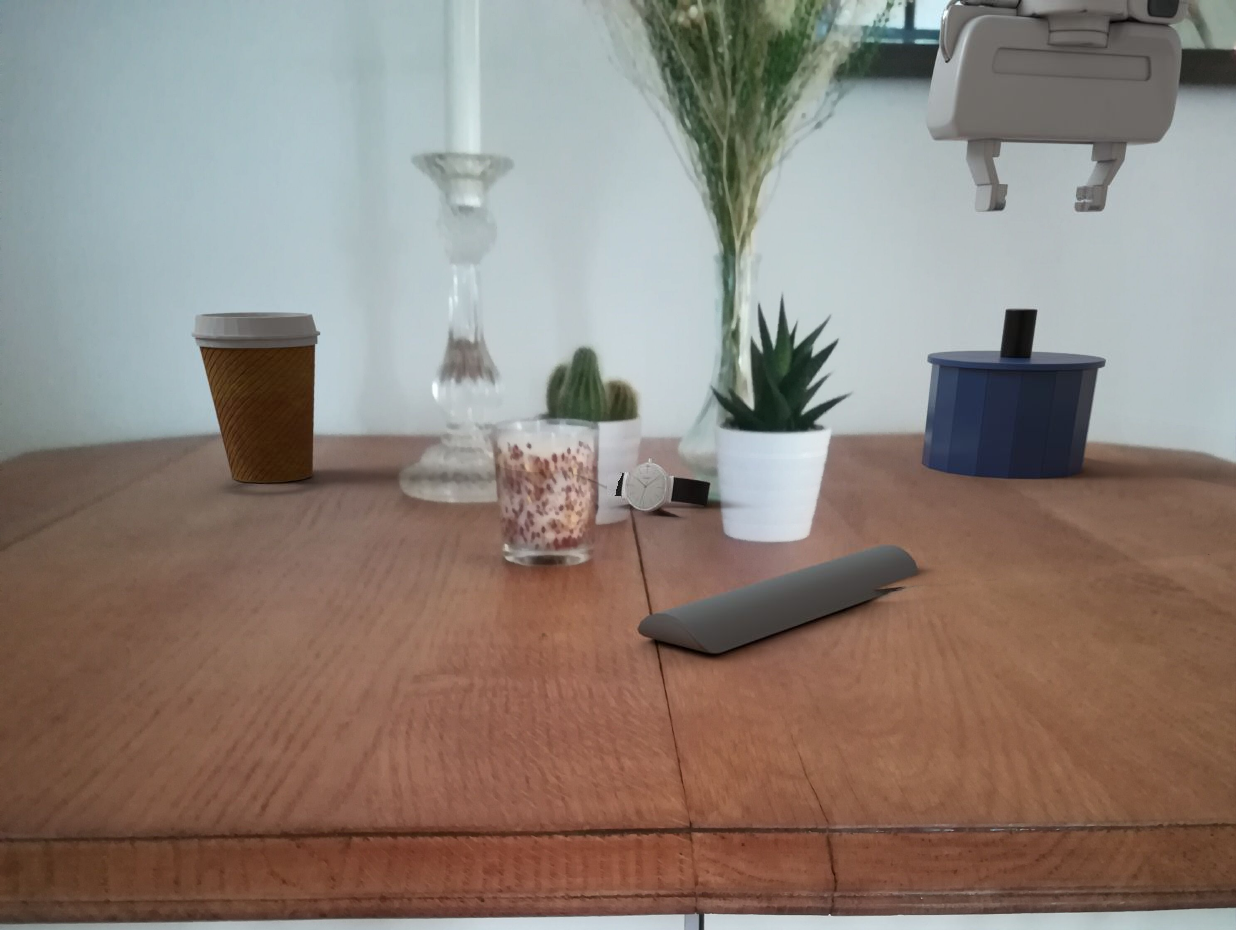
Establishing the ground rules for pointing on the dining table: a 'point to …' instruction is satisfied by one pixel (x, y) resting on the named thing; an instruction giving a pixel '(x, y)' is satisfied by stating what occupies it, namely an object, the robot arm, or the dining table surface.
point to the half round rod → (780, 601)
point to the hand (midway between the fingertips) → (1040, 211)
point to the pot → (1008, 422)
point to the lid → (1017, 351)
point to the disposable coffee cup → (262, 390)
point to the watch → (659, 488)
